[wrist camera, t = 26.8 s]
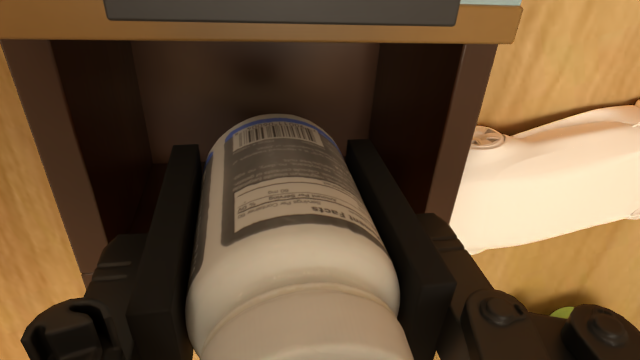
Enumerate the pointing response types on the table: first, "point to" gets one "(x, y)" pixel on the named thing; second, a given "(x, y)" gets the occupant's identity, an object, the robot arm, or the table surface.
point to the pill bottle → (288, 253)
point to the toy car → (549, 179)
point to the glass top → (264, 20)
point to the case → (235, 114)
